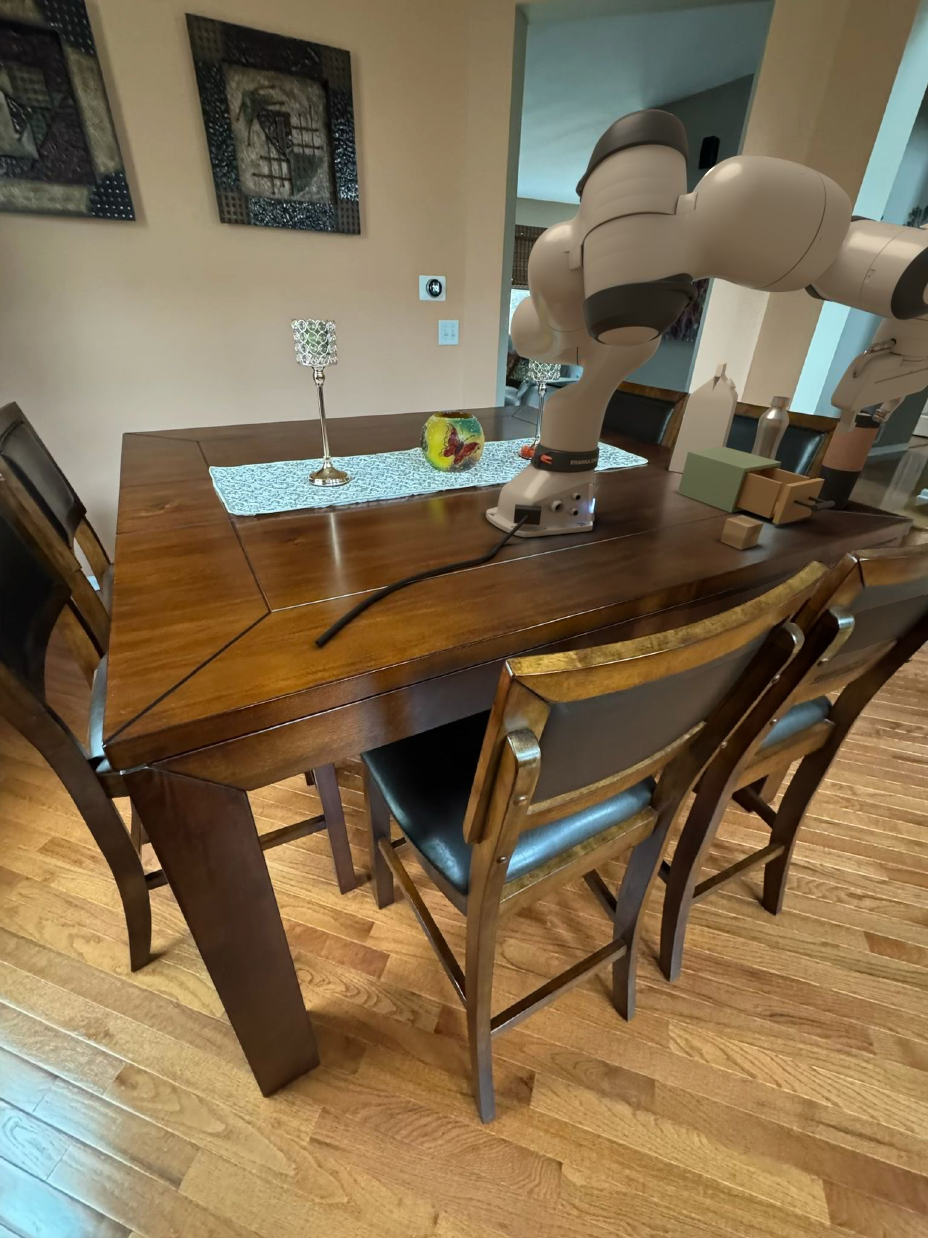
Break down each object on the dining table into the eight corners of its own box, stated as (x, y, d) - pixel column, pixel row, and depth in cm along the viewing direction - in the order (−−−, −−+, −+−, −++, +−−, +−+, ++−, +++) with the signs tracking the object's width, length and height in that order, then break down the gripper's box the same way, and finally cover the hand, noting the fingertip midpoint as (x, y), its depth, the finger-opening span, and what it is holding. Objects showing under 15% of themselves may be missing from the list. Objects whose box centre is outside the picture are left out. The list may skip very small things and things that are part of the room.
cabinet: (766, 504, 121) (781, 462, 116) (731, 512, 115) (744, 468, 110) (712, 486, 132) (724, 446, 127) (677, 492, 126) (687, 451, 121)
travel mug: (809, 506, 121) (846, 413, 110) (805, 496, 127) (839, 407, 117) (848, 512, 119) (889, 417, 108) (842, 501, 125) (879, 411, 114)
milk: (677, 460, 151) (701, 359, 138) (720, 467, 147) (750, 363, 133) (668, 470, 142) (693, 362, 129) (713, 478, 138) (745, 367, 124)
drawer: (833, 523, 109) (849, 486, 105) (800, 532, 104) (816, 493, 100) (753, 496, 123) (764, 462, 119) (720, 503, 118) (731, 468, 113)
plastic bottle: (774, 485, 134) (803, 400, 124) (747, 484, 134) (774, 399, 124) (762, 477, 140) (789, 395, 129) (736, 476, 140) (761, 394, 129)
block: (740, 550, 98) (748, 526, 96) (719, 541, 101) (726, 518, 99) (755, 545, 100) (763, 523, 98) (734, 537, 103) (742, 515, 101)
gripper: (889, 351, 72) (838, 447, 82) (972, 331, 80) (916, 421, 89) (846, 338, 76) (802, 431, 86) (929, 320, 83) (880, 407, 93)
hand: (861, 426), depth 88 cm, fingers open, 8 cm apart
